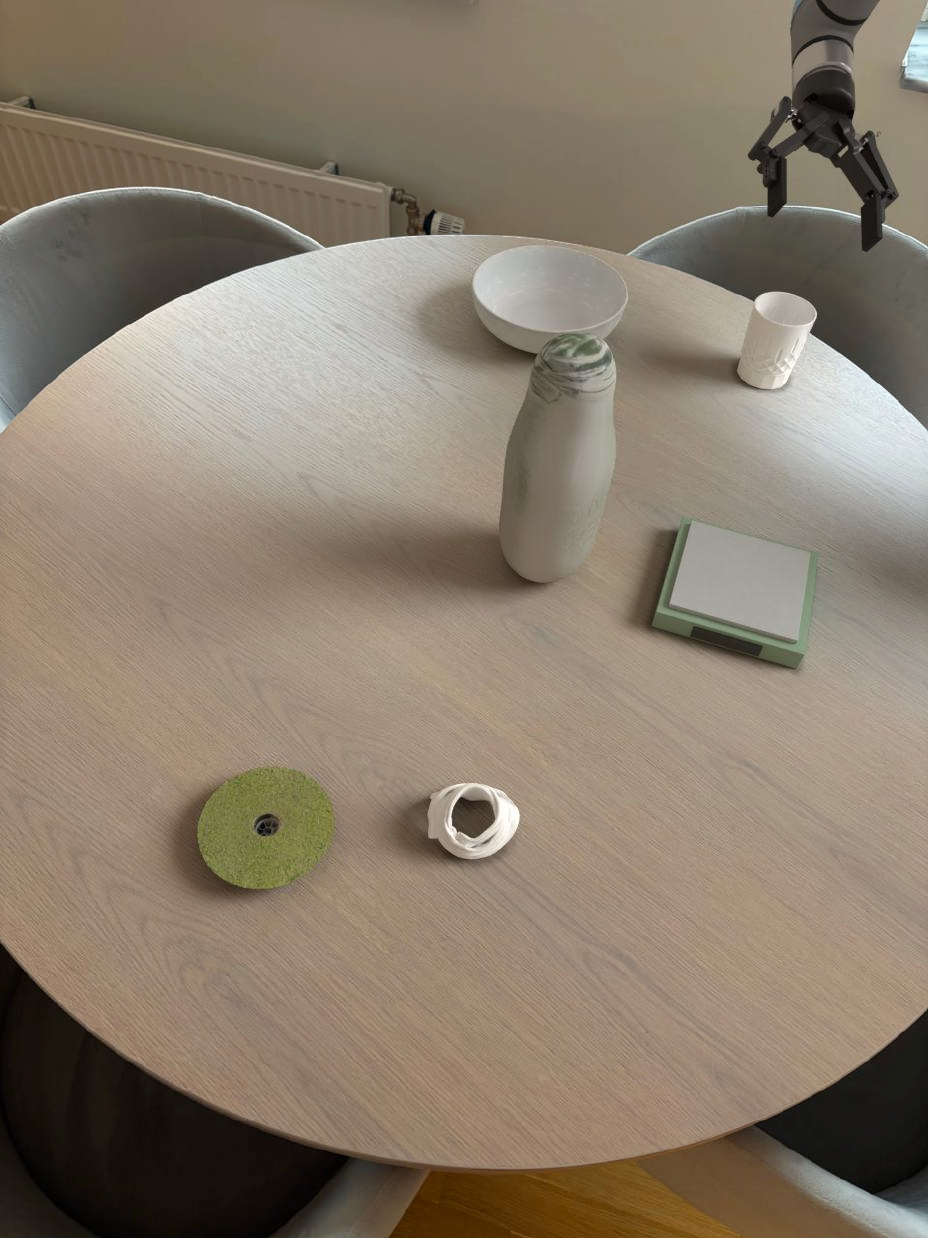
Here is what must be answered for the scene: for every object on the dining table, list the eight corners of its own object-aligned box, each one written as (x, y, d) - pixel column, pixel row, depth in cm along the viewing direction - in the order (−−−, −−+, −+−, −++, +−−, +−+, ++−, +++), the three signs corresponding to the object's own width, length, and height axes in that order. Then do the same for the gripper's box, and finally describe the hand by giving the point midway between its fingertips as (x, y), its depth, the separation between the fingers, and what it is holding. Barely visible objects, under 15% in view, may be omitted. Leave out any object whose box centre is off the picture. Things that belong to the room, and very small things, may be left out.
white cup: (803, 381, 127) (830, 315, 119) (762, 399, 124) (786, 332, 116) (761, 351, 131) (784, 285, 123) (720, 368, 128) (741, 301, 120)
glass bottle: (526, 519, 107) (559, 296, 85) (604, 560, 103) (660, 338, 82) (476, 570, 102) (498, 345, 80) (557, 615, 98) (603, 393, 77)
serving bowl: (460, 289, 136) (463, 244, 131) (602, 288, 139) (610, 243, 134) (477, 377, 123) (481, 331, 118) (634, 374, 126) (644, 329, 120)
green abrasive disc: (347, 879, 78) (347, 869, 77) (209, 914, 76) (205, 904, 74) (321, 765, 85) (320, 753, 84) (193, 793, 83) (190, 782, 81)
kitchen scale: (811, 567, 105) (820, 548, 102) (796, 671, 95) (806, 653, 93) (678, 531, 107) (684, 511, 105) (650, 628, 98) (656, 609, 95)
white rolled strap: (512, 796, 85) (521, 764, 82) (521, 863, 81) (530, 831, 77) (423, 795, 84) (429, 762, 81) (427, 863, 79) (433, 831, 76)
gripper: (882, 145, 127) (888, 276, 120) (720, 80, 120) (717, 214, 114) (924, 102, 120) (933, 238, 114) (756, 30, 114) (754, 171, 107)
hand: (825, 227), depth 114 cm, fingers open, 13 cm apart
